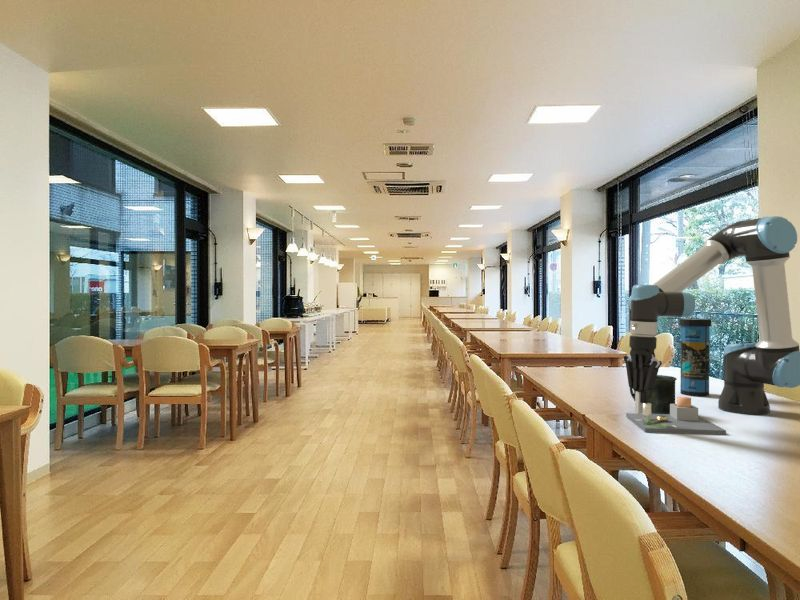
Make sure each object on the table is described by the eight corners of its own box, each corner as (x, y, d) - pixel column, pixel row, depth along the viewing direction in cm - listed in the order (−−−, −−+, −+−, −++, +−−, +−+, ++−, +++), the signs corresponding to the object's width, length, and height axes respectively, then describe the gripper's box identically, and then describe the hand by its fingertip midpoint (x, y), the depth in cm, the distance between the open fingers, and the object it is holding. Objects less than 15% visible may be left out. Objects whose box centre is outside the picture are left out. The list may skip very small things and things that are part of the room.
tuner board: (697, 418, 176) (697, 403, 176) (726, 434, 156) (726, 417, 156) (626, 416, 179) (626, 401, 179) (645, 432, 159) (645, 415, 159)
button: (688, 412, 174) (688, 396, 174) (693, 415, 170) (693, 399, 170) (674, 412, 174) (674, 396, 174) (679, 415, 170) (679, 398, 170)
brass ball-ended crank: (660, 418, 170) (660, 399, 170) (670, 420, 168) (670, 400, 168) (639, 422, 165) (639, 402, 164) (649, 425, 162) (649, 404, 162)
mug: (675, 417, 178) (675, 380, 178) (627, 412, 186) (627, 377, 186) (677, 411, 188) (677, 376, 187) (631, 406, 195) (631, 373, 195)
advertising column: (672, 392, 222) (672, 318, 222) (694, 391, 226) (694, 318, 225) (694, 397, 212) (695, 320, 211) (717, 395, 215) (718, 319, 215)
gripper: (617, 333, 171) (614, 408, 171) (650, 337, 159) (646, 418, 159) (636, 333, 173) (633, 407, 174) (669, 337, 161) (666, 417, 162)
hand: (639, 412), depth 167 cm, fingers closed
